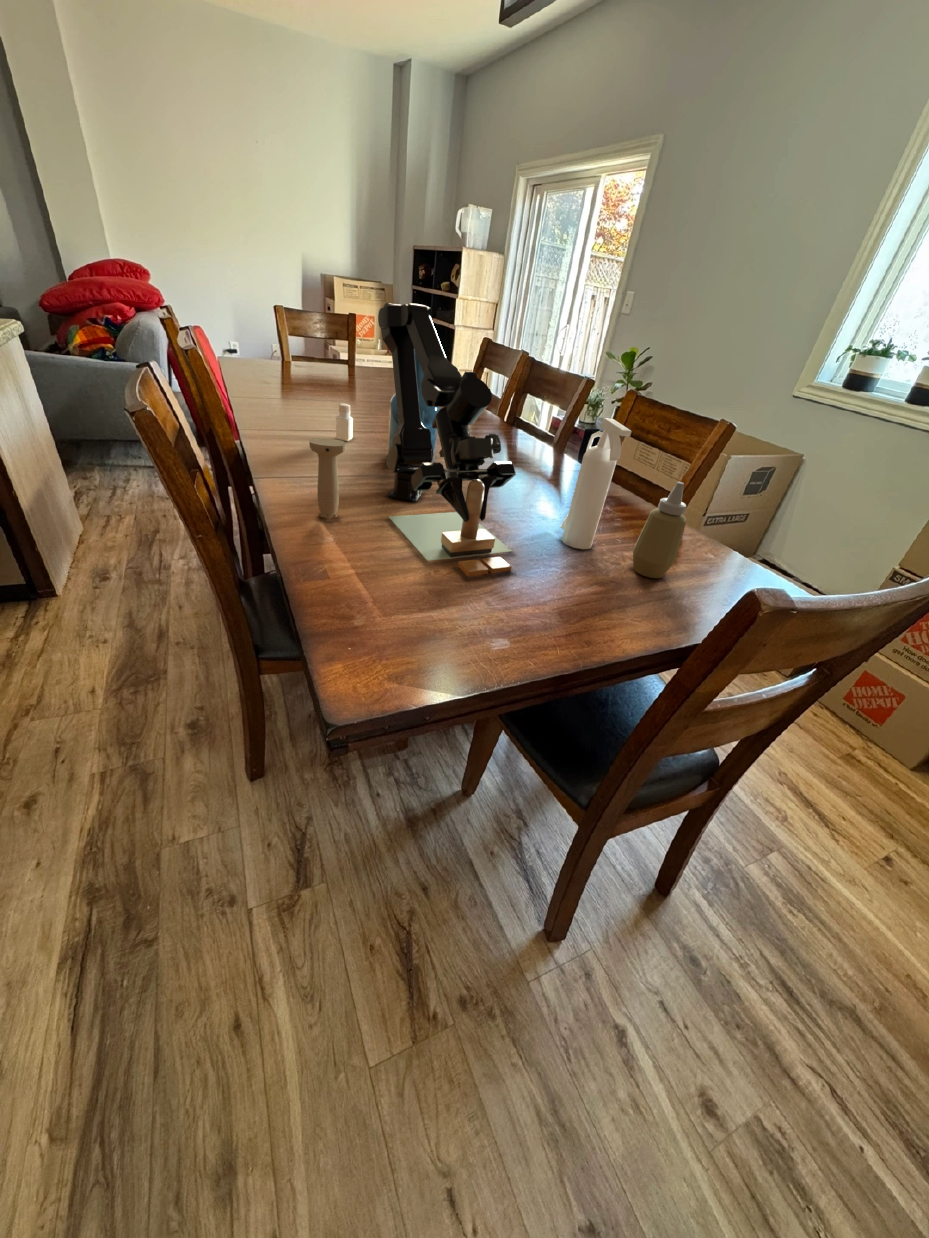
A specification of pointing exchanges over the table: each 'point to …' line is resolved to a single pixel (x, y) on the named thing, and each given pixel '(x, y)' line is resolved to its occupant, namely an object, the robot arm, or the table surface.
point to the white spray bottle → (593, 485)
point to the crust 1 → (472, 567)
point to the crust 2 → (496, 564)
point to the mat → (435, 533)
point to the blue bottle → (425, 413)
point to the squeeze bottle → (661, 536)
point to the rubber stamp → (469, 527)
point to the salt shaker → (344, 423)
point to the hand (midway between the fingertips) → (475, 520)
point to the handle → (327, 474)
